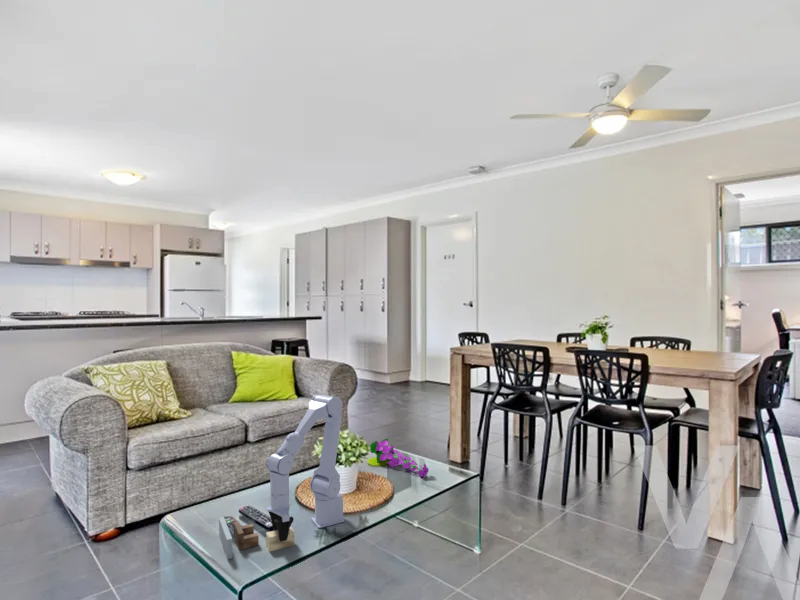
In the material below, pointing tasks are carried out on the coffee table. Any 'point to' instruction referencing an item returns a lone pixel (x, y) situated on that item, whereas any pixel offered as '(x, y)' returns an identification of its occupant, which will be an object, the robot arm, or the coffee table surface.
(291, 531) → the cream wooden bar
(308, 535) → the coffee table surface
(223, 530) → the backstop wall
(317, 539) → the coffee table surface
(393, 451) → the purple flowers
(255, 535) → the brown u-shaped bracket
